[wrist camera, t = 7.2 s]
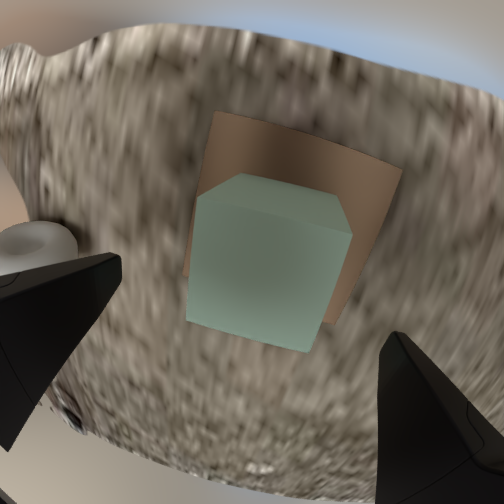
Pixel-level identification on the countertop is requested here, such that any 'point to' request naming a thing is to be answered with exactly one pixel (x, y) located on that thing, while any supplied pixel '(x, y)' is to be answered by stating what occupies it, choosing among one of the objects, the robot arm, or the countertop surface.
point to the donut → (35, 246)
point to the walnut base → (303, 182)
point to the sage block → (266, 260)
